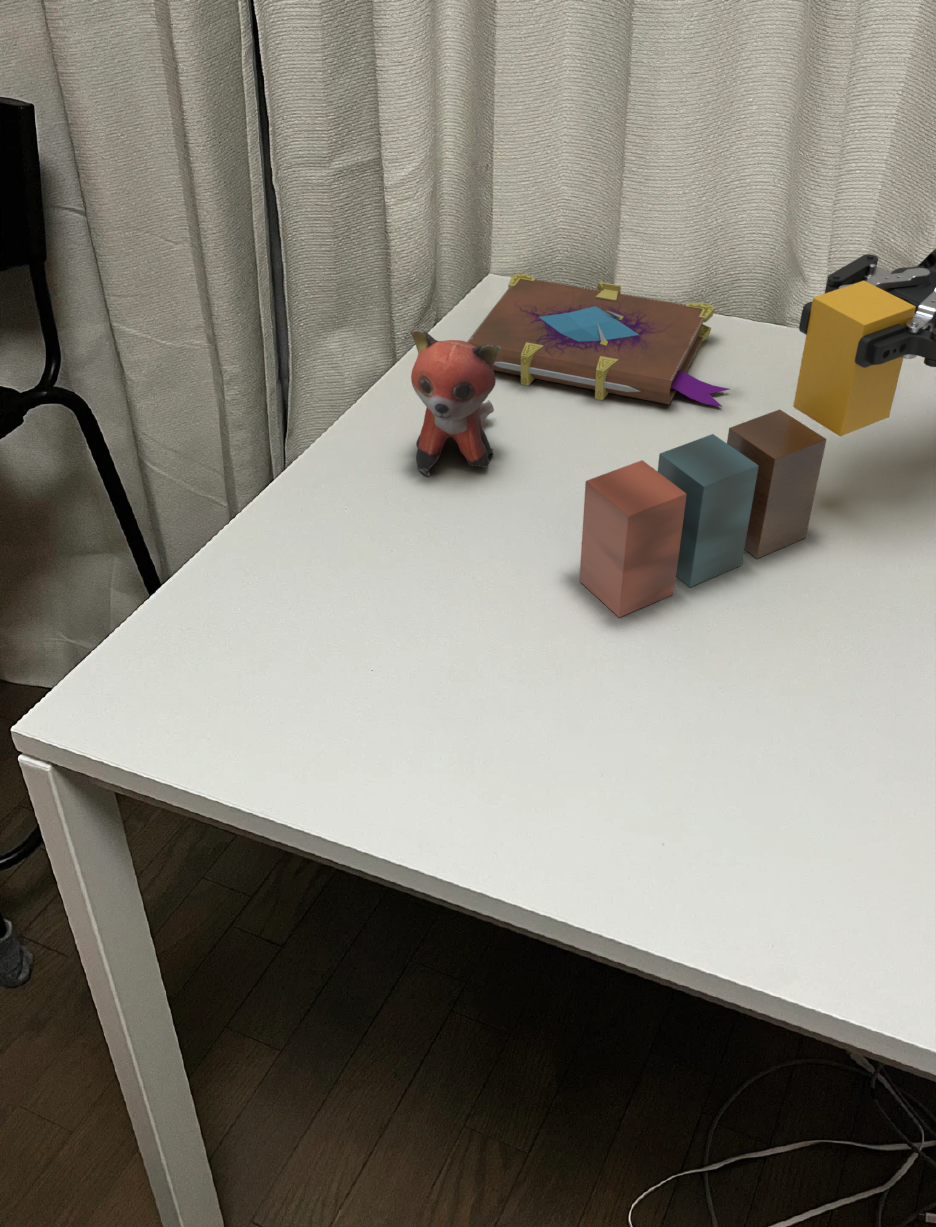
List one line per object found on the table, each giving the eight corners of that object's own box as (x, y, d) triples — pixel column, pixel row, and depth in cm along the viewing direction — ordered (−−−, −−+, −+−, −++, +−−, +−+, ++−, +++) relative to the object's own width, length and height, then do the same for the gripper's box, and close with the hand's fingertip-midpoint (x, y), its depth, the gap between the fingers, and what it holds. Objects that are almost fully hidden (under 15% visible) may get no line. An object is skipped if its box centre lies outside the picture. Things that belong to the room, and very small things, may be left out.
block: (841, 388, 93) (863, 279, 87) (889, 417, 90) (916, 306, 84) (792, 407, 91) (812, 297, 85) (840, 436, 88) (864, 324, 82)
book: (715, 430, 106) (721, 382, 103) (459, 379, 114) (457, 332, 110) (756, 339, 117) (763, 293, 114) (520, 298, 125) (520, 254, 121)
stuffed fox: (520, 421, 106) (522, 296, 99) (492, 492, 98) (492, 361, 90) (438, 412, 108) (433, 287, 100) (404, 481, 99) (396, 351, 92)
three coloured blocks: (762, 506, 96) (779, 408, 90) (805, 538, 93) (827, 438, 87) (578, 581, 89) (585, 480, 83) (619, 618, 86) (628, 516, 80)
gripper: (935, 199, 93) (770, 250, 87) (1092, 266, 84) (921, 329, 77) (913, 289, 98) (755, 343, 92) (1059, 361, 89) (895, 428, 82)
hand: (832, 336), depth 85 cm, fingers closed on block, 5 cm apart
